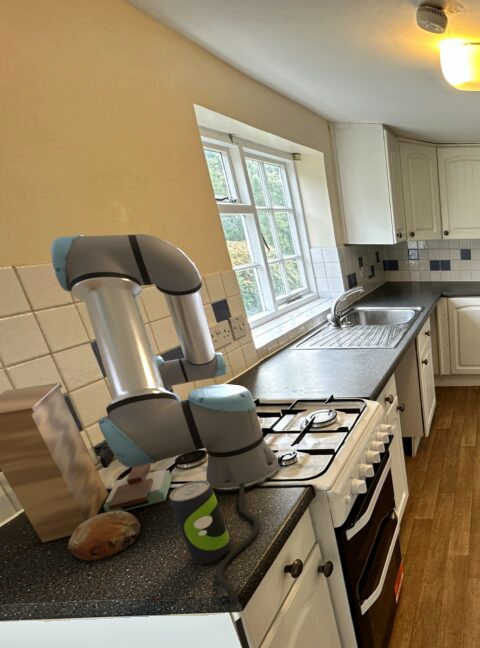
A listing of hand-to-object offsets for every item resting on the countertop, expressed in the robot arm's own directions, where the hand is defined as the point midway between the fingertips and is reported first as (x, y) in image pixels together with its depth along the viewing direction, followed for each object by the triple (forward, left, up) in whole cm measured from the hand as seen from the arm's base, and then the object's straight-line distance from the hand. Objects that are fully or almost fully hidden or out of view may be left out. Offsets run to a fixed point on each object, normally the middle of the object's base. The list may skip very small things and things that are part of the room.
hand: (140, 455), depth 100 cm
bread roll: (-23, +10, -6) cm, 26 cm away
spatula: (-6, +2, -3) cm, 7 cm away
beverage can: (-42, -2, -6) cm, 42 cm away
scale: (-8, +3, -6) cm, 11 cm away
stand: (-7, +13, -6) cm, 16 cm away
